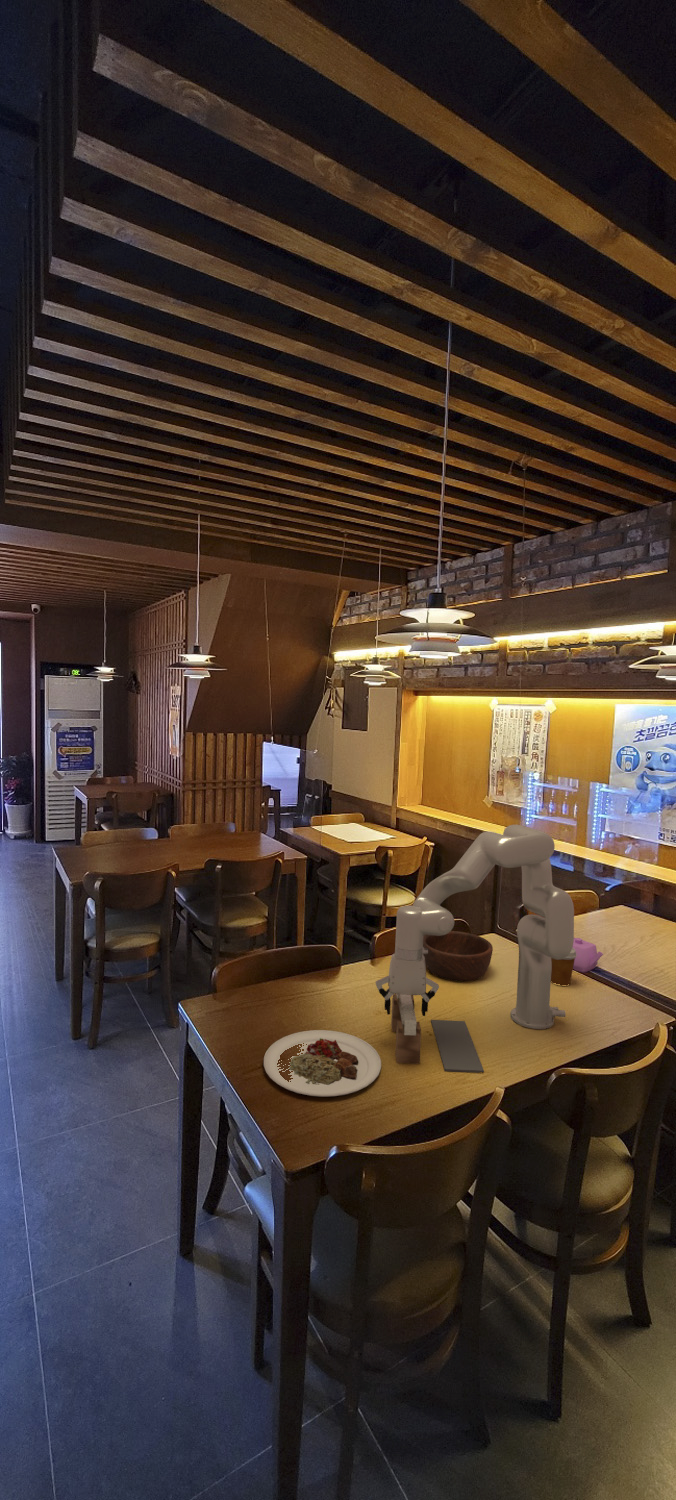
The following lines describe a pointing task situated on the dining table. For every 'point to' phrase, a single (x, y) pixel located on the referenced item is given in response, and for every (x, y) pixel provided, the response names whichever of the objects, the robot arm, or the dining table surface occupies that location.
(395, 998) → the post
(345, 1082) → the plated food
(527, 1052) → the dining table surface
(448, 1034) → the mat
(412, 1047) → the post
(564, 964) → the disposable coffee cup
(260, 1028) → the dining table surface
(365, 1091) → the dining table surface
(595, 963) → the teapot
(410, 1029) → the rail
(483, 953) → the wooden bowl
